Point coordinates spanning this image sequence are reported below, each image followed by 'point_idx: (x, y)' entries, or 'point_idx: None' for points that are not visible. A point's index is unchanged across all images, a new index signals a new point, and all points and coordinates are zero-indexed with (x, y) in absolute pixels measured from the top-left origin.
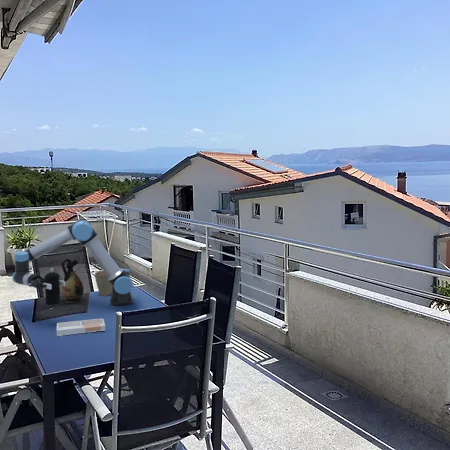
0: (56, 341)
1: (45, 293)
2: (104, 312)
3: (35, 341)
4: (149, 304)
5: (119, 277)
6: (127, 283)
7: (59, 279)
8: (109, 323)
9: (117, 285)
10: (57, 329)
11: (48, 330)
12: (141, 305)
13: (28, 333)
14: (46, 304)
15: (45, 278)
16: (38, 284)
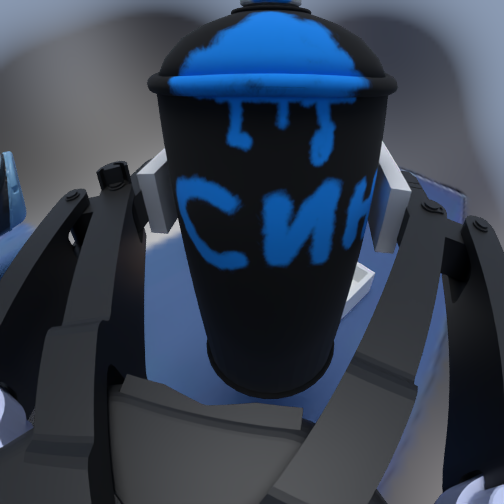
0: (391, 267)
1: (339, 313)
2: None
3: (438, 315)
4: (8, 245)
5: (2, 158)
6: (16, 172)
7: (86, 192)
8: (173, 240)
9: (18, 186)
10: (366, 277)
11: (342, 370)
12: (10, 255)
13: (417, 410)
14: (331, 354)
15: (386, 104)
16: (471, 221)
